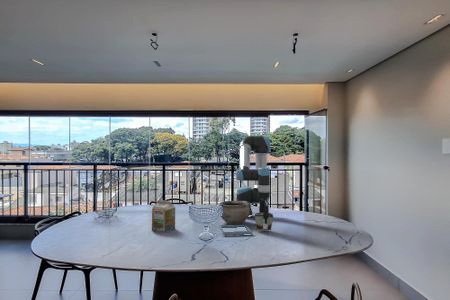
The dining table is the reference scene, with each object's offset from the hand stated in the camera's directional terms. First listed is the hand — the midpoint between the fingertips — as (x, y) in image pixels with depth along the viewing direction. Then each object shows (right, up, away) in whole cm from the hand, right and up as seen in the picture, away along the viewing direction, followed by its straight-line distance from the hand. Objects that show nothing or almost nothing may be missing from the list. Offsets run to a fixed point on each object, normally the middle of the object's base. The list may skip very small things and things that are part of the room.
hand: (263, 227), depth 189 cm
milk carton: (-65, -2, +1) cm, 65 cm away
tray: (-19, -2, -3) cm, 19 cm away
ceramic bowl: (-18, -3, +21) cm, 28 cm away
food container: (0, -1, 0) cm, 1 cm away
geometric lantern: (-119, -3, +42) cm, 126 cm away
